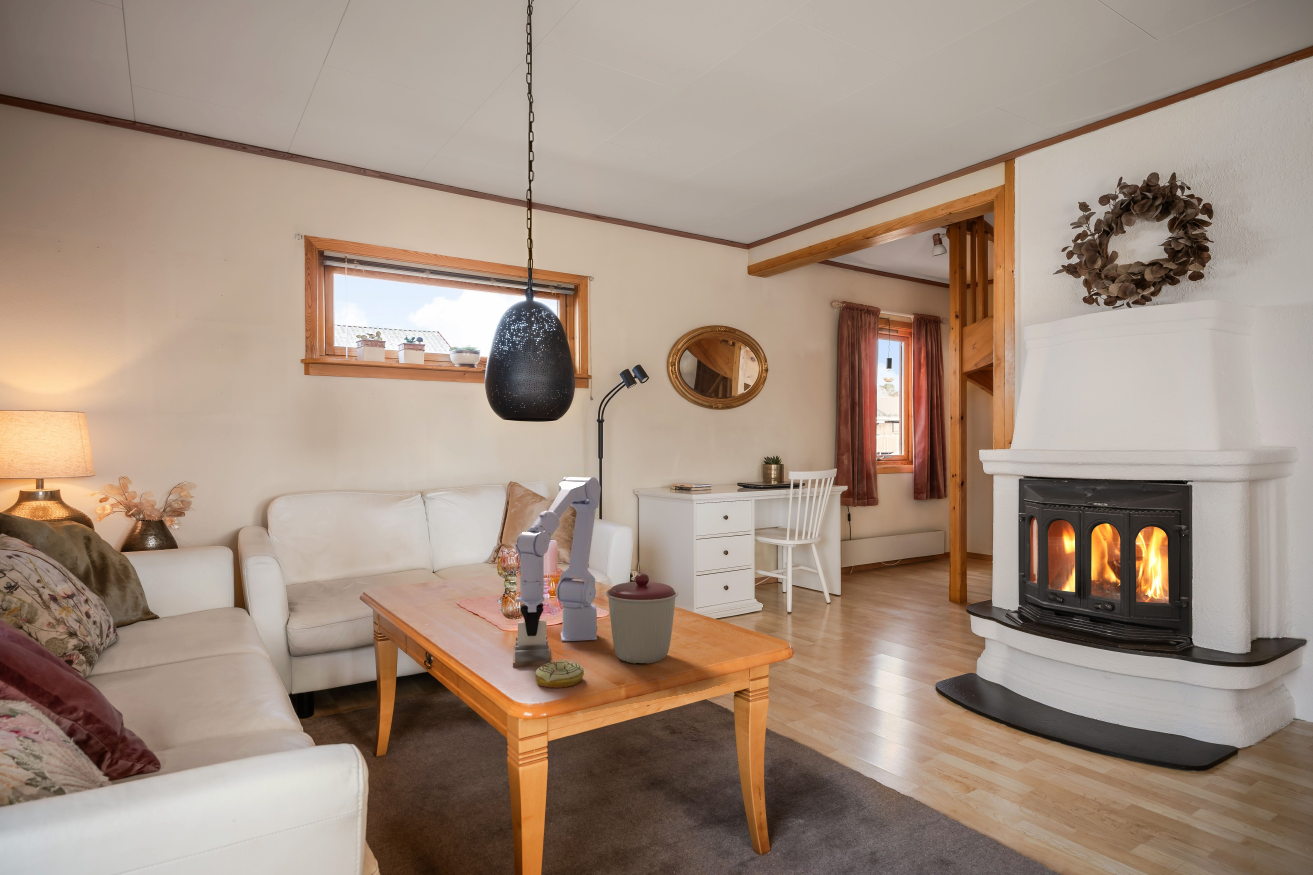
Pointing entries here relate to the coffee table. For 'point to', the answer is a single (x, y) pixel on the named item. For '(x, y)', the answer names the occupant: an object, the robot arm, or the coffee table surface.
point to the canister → (641, 619)
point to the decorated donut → (559, 674)
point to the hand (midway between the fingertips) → (531, 634)
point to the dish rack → (531, 655)
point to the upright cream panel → (531, 640)
